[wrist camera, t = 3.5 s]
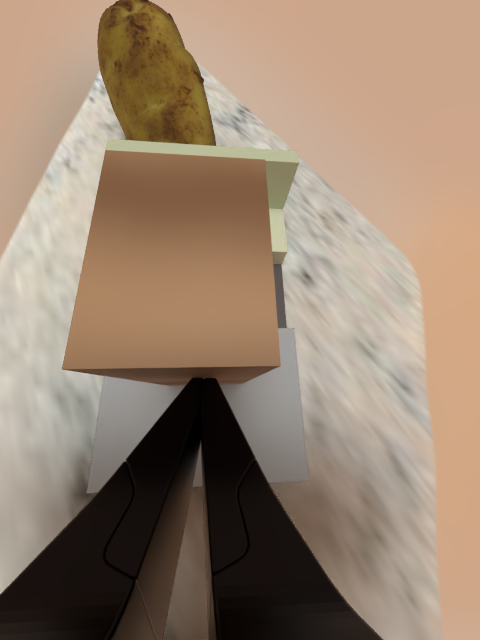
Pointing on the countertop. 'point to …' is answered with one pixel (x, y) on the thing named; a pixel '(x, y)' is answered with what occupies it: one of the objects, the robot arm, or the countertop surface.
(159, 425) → the robot arm
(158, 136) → the potato
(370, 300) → the countertop surface
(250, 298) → the walnut block
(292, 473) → the trap board
